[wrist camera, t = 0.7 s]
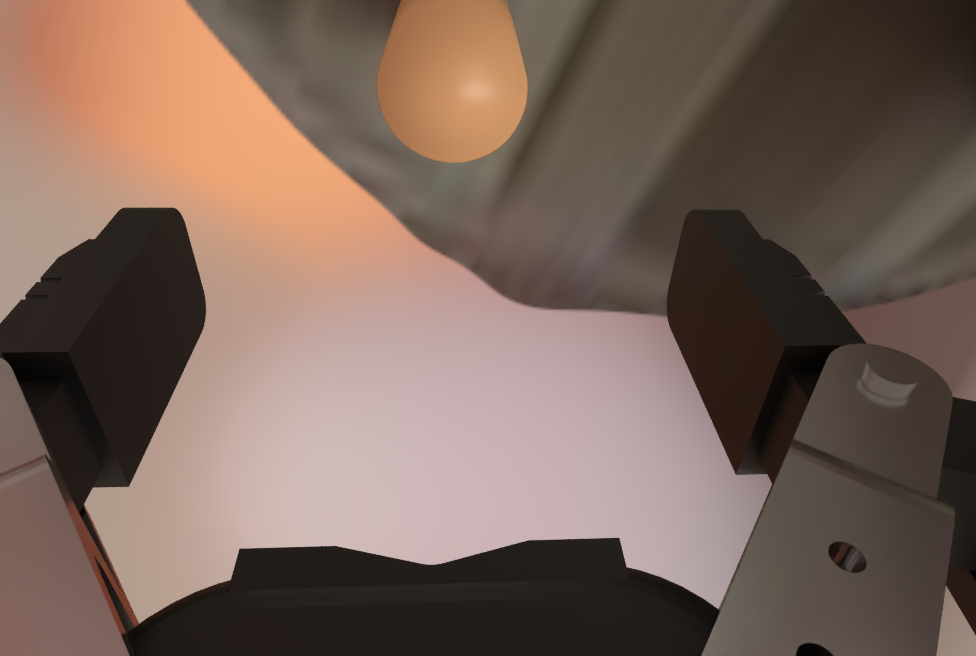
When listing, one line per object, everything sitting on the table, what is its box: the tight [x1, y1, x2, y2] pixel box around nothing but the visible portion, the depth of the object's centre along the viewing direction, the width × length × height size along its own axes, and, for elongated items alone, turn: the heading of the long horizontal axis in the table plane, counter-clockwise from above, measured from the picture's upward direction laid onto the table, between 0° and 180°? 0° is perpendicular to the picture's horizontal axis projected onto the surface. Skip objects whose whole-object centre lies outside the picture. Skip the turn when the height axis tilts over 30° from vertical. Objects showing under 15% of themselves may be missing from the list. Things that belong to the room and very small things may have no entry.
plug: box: [377, 0, 527, 163], centre depth 22 cm, size 4×4×10 cm
